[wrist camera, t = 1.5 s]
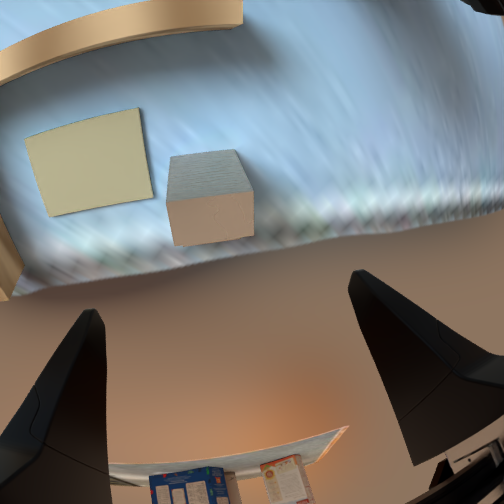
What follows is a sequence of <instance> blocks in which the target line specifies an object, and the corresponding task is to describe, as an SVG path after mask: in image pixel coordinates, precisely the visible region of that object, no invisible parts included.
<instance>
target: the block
mask: <svg viewBox="0 0 504 504" xmlns="http://www.w3.org/2000/svg"><path fill="white" fill-rule="evenodd" d="M166 206H167V211H168V216H169V222H170V227H171V232H172V236H173V241H174V246H180V245H183V247H185V246H192V245H199V244H206V243H214V242H221V241H228V240H236V239H241V237H246V236H254V191H253V189H252V187H251V185H250V182H249V180H248V178H247V176H246V174H245V171H244V169H243V167H242V165H241V163H240V161H239V159H238V156H237V154H236V152H235V150H234V149H229V150H220V151H210V152H202V153H194V154H186V155H179V156H172V157H170V165H169V174H168V184H167V195H166Z"/></svg>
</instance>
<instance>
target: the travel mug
mask: <svg viewBox="0 0 504 504" xmlns="http://www.w3.org/2000/svg"><path fill="white" fill-rule="evenodd" d="M224 476H225V481H226V486H227V491H228V495H229V500H230V504H242V502H241V498H240V494H239V489H238V485H237V480H236V476H235V472H226V473H224Z"/></svg>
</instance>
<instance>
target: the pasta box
mask: <svg viewBox="0 0 504 504" xmlns="http://www.w3.org/2000/svg"><path fill="white" fill-rule="evenodd" d="M149 483H150V491H151V498H152V504H230V500H229V495H228V491H227V486H226V481H225V476H224V471H223V468H218V467H209V466H208V467H203V468H198V469H193V470H187V471H181V472H175V473H169V474H162V475H154V476H149Z"/></svg>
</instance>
